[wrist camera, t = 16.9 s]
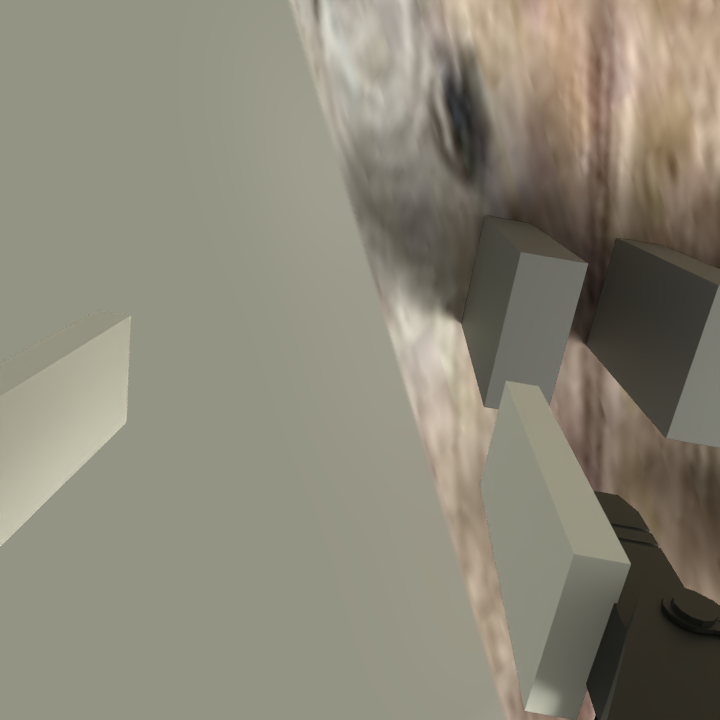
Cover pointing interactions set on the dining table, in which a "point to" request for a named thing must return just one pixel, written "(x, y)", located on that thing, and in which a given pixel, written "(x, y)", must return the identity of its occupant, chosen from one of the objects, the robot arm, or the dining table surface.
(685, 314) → the domino
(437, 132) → the dining table surface
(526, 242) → the domino
